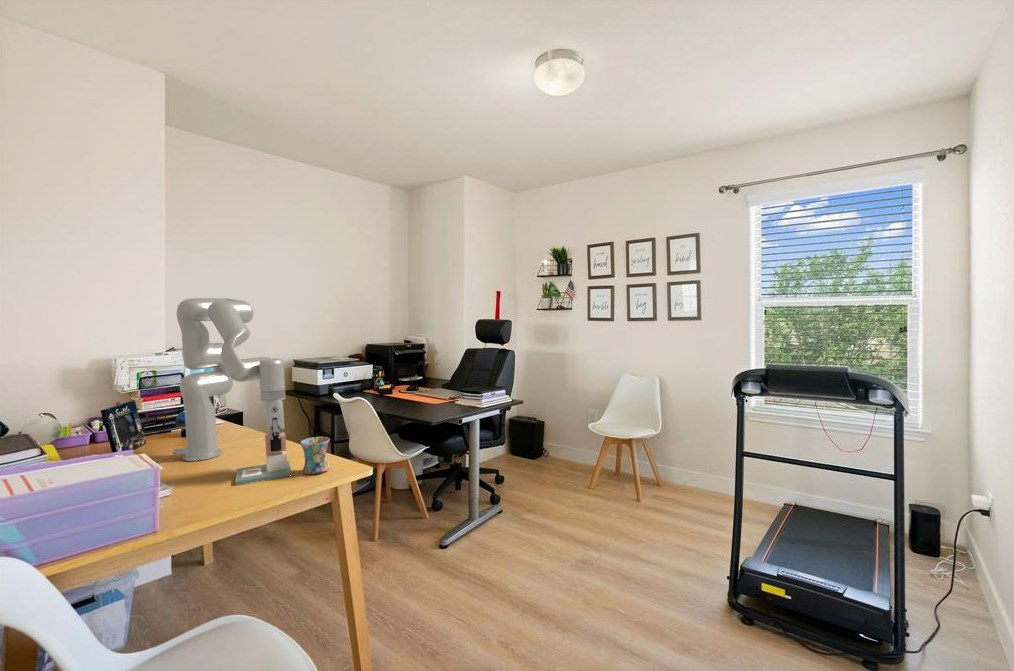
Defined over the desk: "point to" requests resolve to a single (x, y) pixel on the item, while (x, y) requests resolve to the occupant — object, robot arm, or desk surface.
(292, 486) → the desk surface
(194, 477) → the desk surface
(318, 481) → the desk surface
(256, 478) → the baseplate
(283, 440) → the terracotta brick
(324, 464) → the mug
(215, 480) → the desk surface
